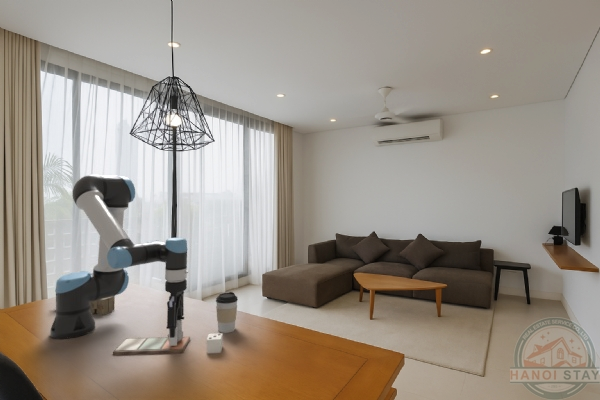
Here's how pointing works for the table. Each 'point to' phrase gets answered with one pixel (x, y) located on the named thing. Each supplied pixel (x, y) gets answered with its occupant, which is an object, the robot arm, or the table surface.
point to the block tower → (102, 305)
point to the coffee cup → (226, 312)
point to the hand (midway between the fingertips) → (175, 341)
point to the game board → (150, 346)
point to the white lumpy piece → (178, 332)
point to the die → (214, 343)
